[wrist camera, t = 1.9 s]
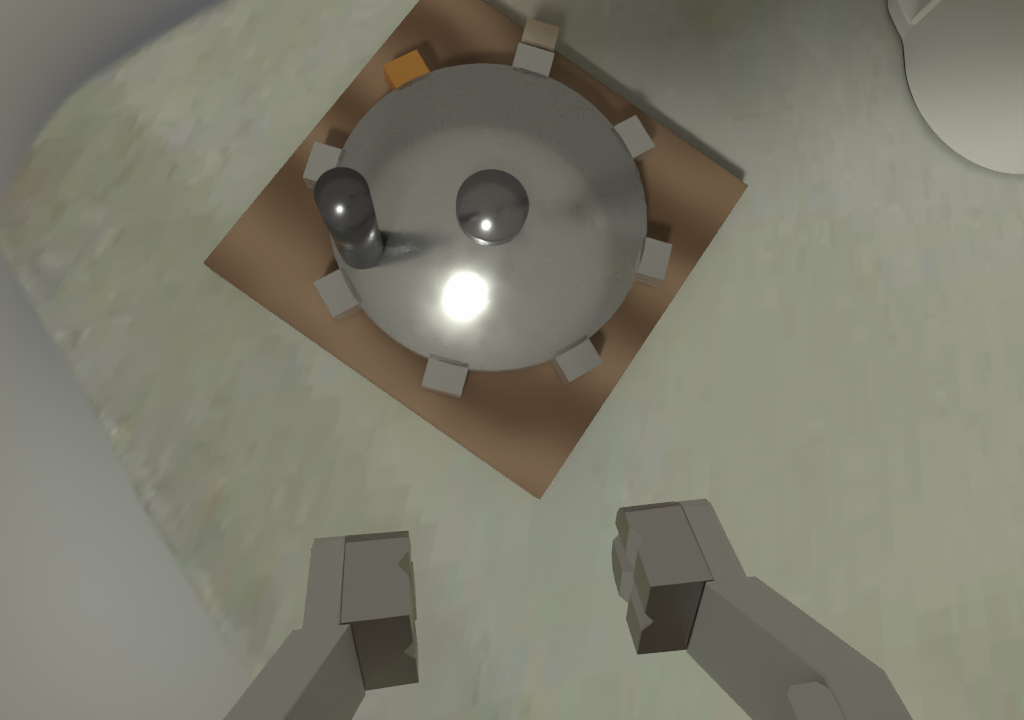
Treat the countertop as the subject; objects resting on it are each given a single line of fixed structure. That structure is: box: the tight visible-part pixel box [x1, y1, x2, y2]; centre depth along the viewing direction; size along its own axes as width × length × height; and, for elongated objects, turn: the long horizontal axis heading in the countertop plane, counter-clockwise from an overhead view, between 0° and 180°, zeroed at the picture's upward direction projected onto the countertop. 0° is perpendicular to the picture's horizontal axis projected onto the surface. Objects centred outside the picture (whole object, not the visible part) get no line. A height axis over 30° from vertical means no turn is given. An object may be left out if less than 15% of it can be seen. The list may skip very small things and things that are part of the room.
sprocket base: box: [204, 0, 748, 499], centre depth 42 cm, size 23×23×3 cm
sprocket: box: [303, 43, 672, 398], centre depth 37 cm, size 20×20×10 cm
